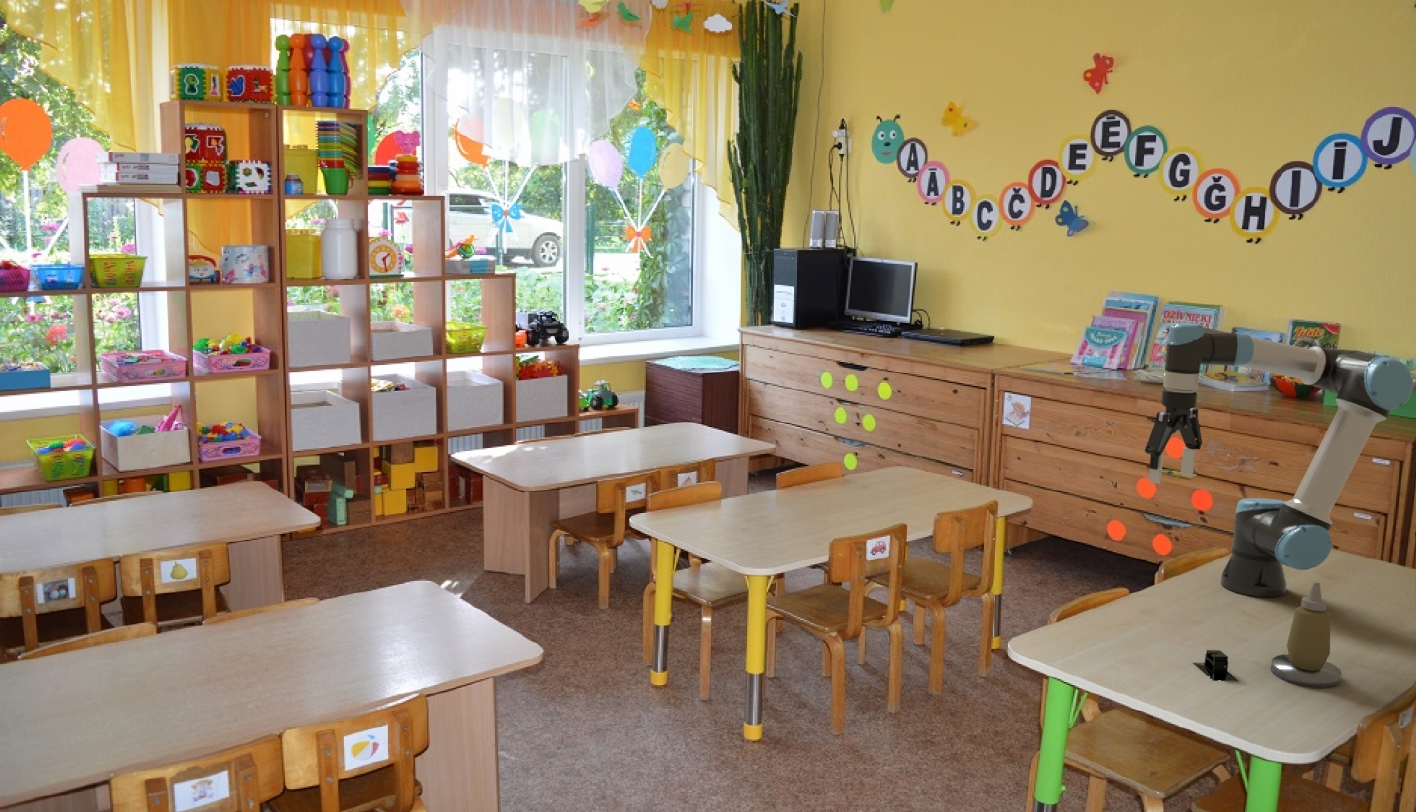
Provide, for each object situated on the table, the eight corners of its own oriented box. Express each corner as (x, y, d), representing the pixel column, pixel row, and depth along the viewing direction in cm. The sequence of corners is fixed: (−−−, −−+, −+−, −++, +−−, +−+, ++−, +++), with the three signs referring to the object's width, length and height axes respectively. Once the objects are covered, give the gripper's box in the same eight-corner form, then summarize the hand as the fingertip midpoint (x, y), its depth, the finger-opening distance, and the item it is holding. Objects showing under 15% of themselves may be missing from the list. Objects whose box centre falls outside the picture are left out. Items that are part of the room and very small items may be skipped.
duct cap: (1289, 658, 260) (1291, 649, 259) (1351, 679, 250) (1353, 670, 249) (1258, 672, 252) (1260, 662, 251) (1321, 693, 242) (1322, 684, 241)
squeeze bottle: (1318, 660, 254) (1329, 578, 251) (1334, 675, 246) (1345, 590, 243) (1278, 657, 255) (1288, 575, 252) (1292, 672, 247) (1303, 588, 244)
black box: (1185, 662, 257) (1187, 641, 256) (1218, 662, 258) (1220, 642, 257) (1212, 686, 245) (1214, 665, 244) (1247, 686, 246) (1249, 665, 245)
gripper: (1194, 383, 290) (1185, 469, 294) (1134, 391, 275) (1125, 482, 279) (1223, 388, 284) (1214, 475, 288) (1164, 396, 269) (1155, 489, 273)
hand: (1170, 479), depth 283 cm, fingers open, 13 cm apart
